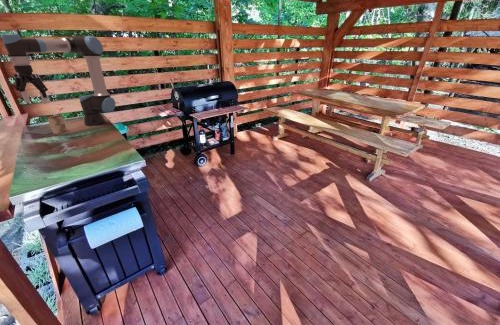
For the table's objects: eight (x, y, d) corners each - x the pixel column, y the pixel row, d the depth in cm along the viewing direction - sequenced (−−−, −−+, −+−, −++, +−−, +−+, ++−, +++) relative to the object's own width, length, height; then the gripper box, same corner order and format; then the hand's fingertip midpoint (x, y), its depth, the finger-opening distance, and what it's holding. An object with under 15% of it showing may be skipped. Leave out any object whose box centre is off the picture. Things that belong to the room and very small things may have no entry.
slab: (62, 130, 182) (57, 114, 176) (67, 130, 181) (61, 114, 176) (52, 133, 174) (46, 117, 169) (57, 133, 174) (51, 117, 168)
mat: (38, 129, 184) (38, 128, 184) (59, 130, 180) (59, 130, 180) (24, 133, 175) (24, 132, 175) (46, 135, 171) (46, 134, 171)
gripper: (-4, 65, 132) (13, 103, 141) (33, 65, 127) (48, 105, 136) (11, 64, 138) (26, 101, 147) (46, 64, 134) (60, 102, 143)
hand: (37, 103), depth 142 cm, fingers open, 13 cm apart
